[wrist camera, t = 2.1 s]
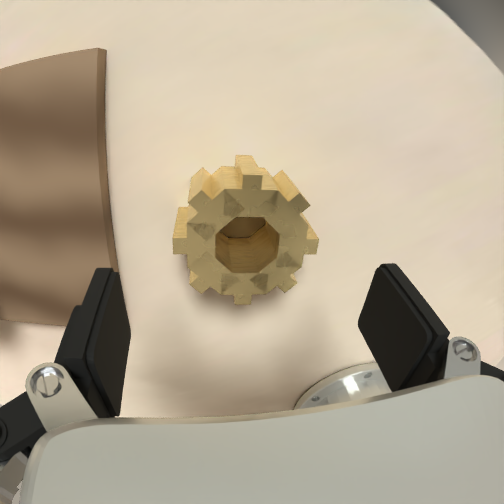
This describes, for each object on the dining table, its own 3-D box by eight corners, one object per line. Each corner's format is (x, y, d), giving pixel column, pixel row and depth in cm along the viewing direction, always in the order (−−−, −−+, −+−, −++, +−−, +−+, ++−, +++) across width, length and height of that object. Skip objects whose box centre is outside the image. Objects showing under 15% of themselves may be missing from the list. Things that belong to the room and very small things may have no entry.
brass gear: (291, 266, 22) (306, 302, 19) (180, 266, 21) (176, 304, 18) (306, 159, 19) (329, 179, 15) (178, 154, 17) (170, 173, 14)
